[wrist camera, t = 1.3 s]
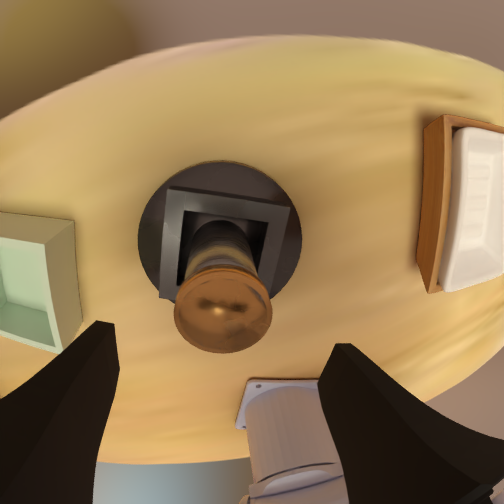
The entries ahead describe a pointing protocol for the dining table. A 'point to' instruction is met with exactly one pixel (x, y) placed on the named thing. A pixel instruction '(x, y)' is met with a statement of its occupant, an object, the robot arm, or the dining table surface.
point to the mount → (219, 208)
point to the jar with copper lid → (222, 292)
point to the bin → (38, 281)
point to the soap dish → (461, 204)
